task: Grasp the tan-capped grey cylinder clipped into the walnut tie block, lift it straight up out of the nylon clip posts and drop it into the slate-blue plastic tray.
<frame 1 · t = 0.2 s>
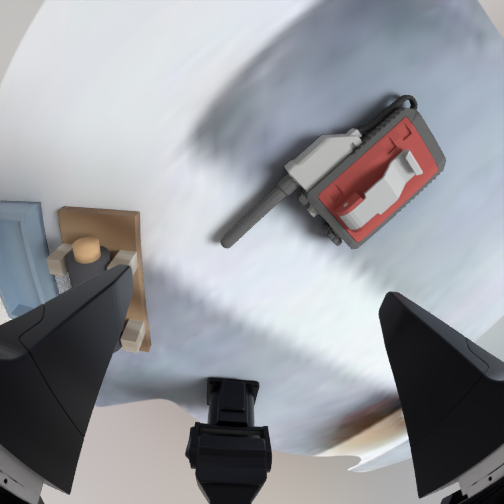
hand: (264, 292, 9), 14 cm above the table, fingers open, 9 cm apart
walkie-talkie: (336, 185, 23), on the table
tan-capped grey cylinder: (103, 290, 25), point 1 cm above the table, touching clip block
tray: (25, 261, 25), on the table
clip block: (108, 283, 26), on the table
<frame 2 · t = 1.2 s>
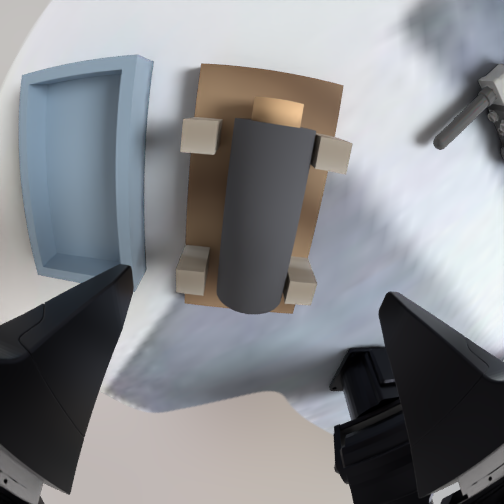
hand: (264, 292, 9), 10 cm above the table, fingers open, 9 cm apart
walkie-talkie: (503, 113, 15), on the table
tan-capped grey cylinder: (254, 204, 17), point 1 cm above the table, tilted 9°, touching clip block
tray: (88, 170, 17), on the table
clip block: (253, 198, 18), on the table
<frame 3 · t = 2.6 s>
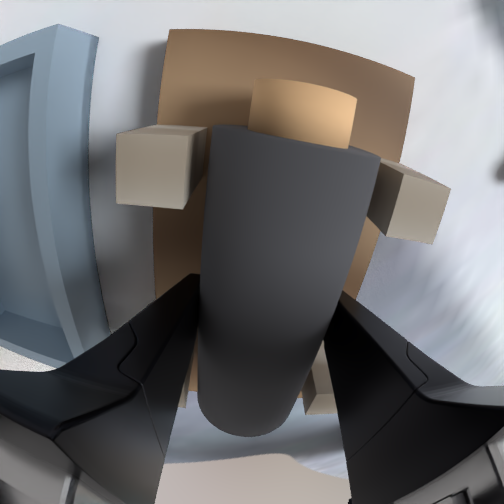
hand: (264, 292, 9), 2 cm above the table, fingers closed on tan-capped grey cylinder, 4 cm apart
tan-capped grey cylinder: (262, 272, 10), point 1 cm above the table, touching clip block, gripper
tray: (21, 209, 10), on the table
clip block: (261, 256, 11), on the table
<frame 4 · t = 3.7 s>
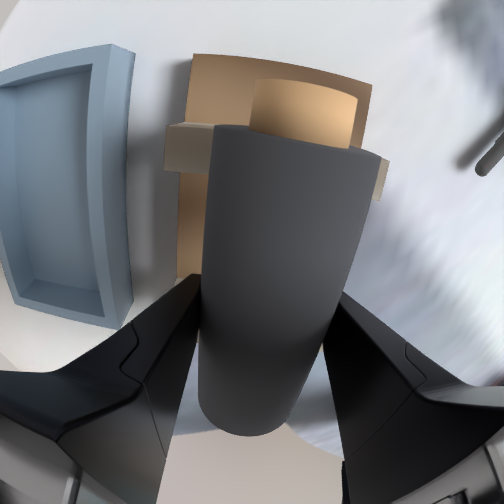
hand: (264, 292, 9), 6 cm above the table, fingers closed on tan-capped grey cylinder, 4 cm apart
tan-capped grey cylinder: (262, 271, 10), point 5 cm above the table, touching gripper
tray: (62, 187, 14), on the table
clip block: (258, 222, 15), on the table
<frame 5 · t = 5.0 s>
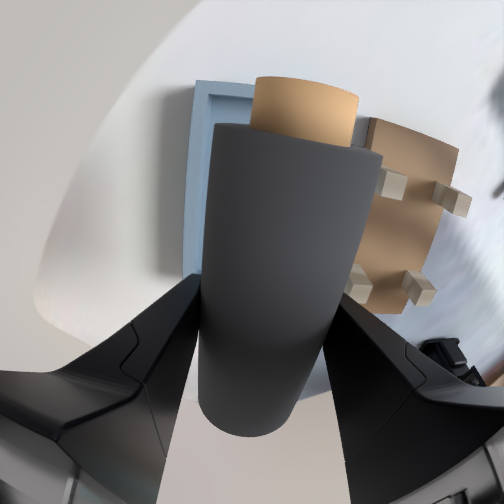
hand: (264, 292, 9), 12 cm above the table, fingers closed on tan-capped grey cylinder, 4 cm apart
tan-capped grey cylinder: (263, 271, 10), point 11 cm above the table, touching gripper
tray: (252, 192, 20), on the table
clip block: (390, 226, 21), on the table
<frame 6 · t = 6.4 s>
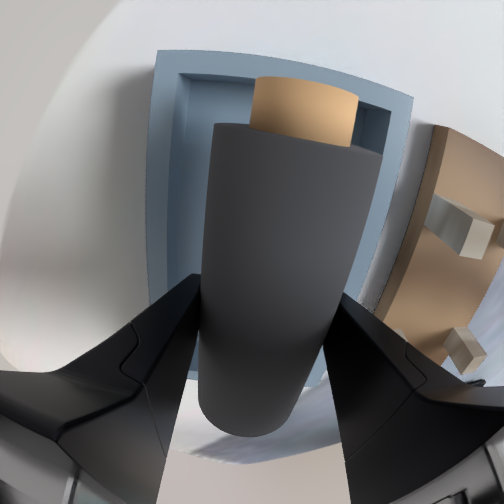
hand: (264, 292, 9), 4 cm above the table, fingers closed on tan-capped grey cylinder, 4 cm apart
tan-capped grey cylinder: (262, 271, 10), point 3 cm above the table, touching gripper
tray: (257, 235, 13), on the table
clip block: (442, 275, 15), on the table
when the fingers open (4 cm above the table, at t = 7.2 s): tan-capped grey cylinder drops 2 cm, resting on tray.
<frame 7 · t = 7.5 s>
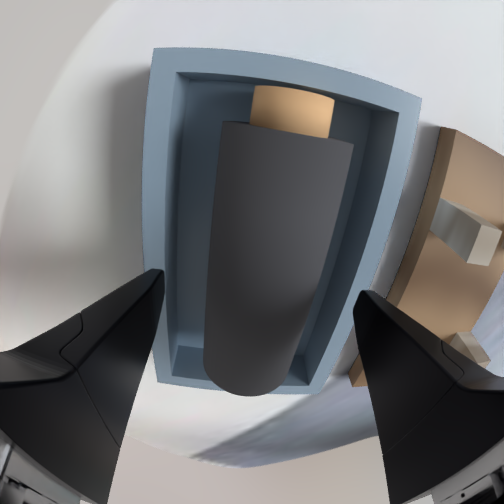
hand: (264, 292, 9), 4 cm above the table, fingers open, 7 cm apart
tan-capped grey cylinder: (260, 246, 12), point 1 cm above the table, touching tray
tray: (259, 241, 13), on the table
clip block: (446, 280, 14), on the table
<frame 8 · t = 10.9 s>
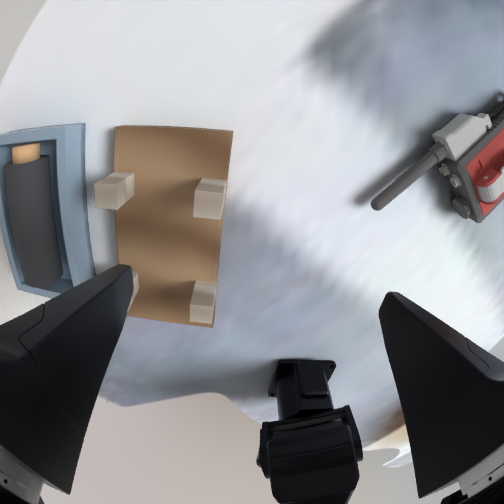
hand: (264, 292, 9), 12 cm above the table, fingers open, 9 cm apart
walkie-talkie: (461, 163, 19), on the table
tan-capped grey cylinder: (45, 212, 19), point 1 cm above the table, touching tray
tray: (48, 210, 20), on the table
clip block: (169, 232, 21), on the table
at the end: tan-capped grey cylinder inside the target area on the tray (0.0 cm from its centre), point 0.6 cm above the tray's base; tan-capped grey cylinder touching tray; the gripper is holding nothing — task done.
